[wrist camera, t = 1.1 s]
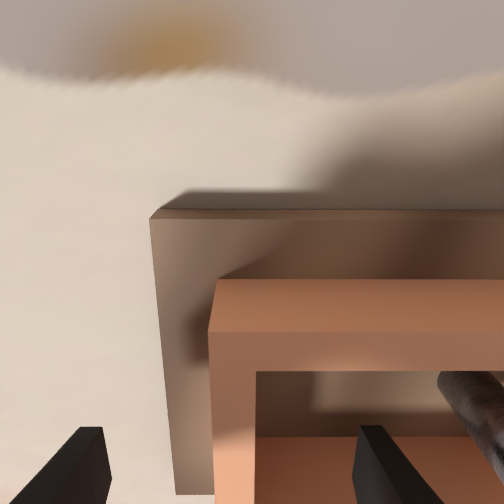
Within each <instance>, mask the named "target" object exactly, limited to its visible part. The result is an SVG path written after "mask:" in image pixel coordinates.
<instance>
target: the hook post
mask: <svg viewBox="0 0 504 504" xmlns="http://www.w3.org/2000/svg"><path fill="white" fill-rule="evenodd" d="M437 386H438V389H439V391H440V392H441V393H442V395H443V396H444V398H445V399H446V401H447V402H448V404H449V405H450V407H451V408H452V410H453V411H454V413H455V414H456V416H457V417H458V419H459V420H460V421H461V423H462V424H463V426H464V427H465V429H466V430H467V432H468V433H469V435H470V436H471V438H472V439H473V441H474V442H475V444H476V445H477V447H478V448H479V449H480V451H481V452H482V454H483V455H484V457H485V458H486V460H487V461H488V463H489V464H490V466H491V467H492V469H493V470H494V472H495V473H496V475H497V476H498V477H499V479H500V480H501V482H502V483H503V485H504V386H503V385H502V384H501V383H500V382H499V381H498V380H497V379H496V378H495V377H494V375H493V374H492V373H491V372H490V371H441V372H440V374H439V376H438V379H437Z"/></svg>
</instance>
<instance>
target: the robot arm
mask: <svg viewBox="0 0 504 504" xmlns="http://www.w3.org/2000/svg"><path fill="white" fill-rule="evenodd" d="M352 480H353V485H354V490H355V495H356V500H357V504H445V503H444V502H443V501H442V500H441V499H440V498H439V496H438V495H437V494H436V493H435V492H434V490H433V489H432V488H431V487H430V486H429V485H428V483H427V482H426V481H425V480H424V478H423V477H422V476H421V475H420V474H419V472H418V471H417V470H416V469H415V467H414V466H413V465H412V464H411V462H410V461H409V460H408V458H407V457H406V456H405V455H404V453H403V452H402V451H401V449H400V448H399V447H398V446H397V444H396V443H395V442H394V440H393V439H392V438H391V436H390V435H389V434H388V432H387V431H386V430H385V429H384V427H383V426H382V425H359V432H358V439H357V445H356V452H355V459H354V465H353V472H352ZM111 481H112V476H111V471H110V465H109V460H108V455H107V449H106V444H105V439H104V433H103V428H102V427H80V428H79V429H77V430H76V432H75V433H74V434H73V435H72V436H71V437H70V438H69V439H68V440H67V442H66V443H65V444H64V445H63V446H62V447H61V448H60V449H59V450H58V452H57V453H56V454H55V455H54V456H53V457H52V458H51V459H50V460H49V461H48V463H47V464H46V465H45V466H44V467H43V468H42V469H41V470H40V471H39V472H38V474H37V475H36V476H35V477H34V478H33V479H32V480H31V481H30V482H29V483H28V484H27V485H26V486H25V487H24V488H23V489H22V491H21V492H20V493H19V494H18V495H17V496H16V497H15V498H14V499H13V500H12V501H11V502H10V503H9V504H106V500H107V496H108V492H109V489H110V485H111Z"/></svg>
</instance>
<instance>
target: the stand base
mask: <svg viewBox="0 0 504 504" xmlns="http://www.w3.org/2000/svg"><path fill="white" fill-rule="evenodd" d="M149 224H150V234H151V245H152V255H153V265H154V275H155V286H156V296H157V306H158V316H159V327H160V337H161V347H162V357H163V368H164V378H165V388H166V398H167V409H168V419H169V429H170V439H171V450H172V460H173V470H174V481H175V491H176V495H215V489H214V466H213V442H212V419H211V395H210V372H209V348H208V328H209V322H210V316H211V311H212V305H213V300H214V294H215V288H216V283H217V279H459V280H504V210H312V209H157V211H156V212H155V213H154V214H153V215H152V216H151V217H150V218H149ZM440 372H441V371H256V404H255V437H358V432H359V425H382V426H383V427H384V429H385V430H386V431H387V432H388V434H389V435H390V436H391V437H466V436H470V435H469V433H468V432H467V430H466V429H465V427H464V426H463V424H462V423H461V421H460V420H459V419H458V417H457V416H456V414H455V413H454V411H453V410H452V408H451V407H450V405H449V404H448V402H447V401H446V399H445V398H444V396H443V395H442V393H441V392H440V391H439V389H438V386H437V379H438V376H439V374H440ZM490 372H491V373H492V374H493V375H494V377H495V378H496V379H497V380H498V381H499V382H500V383H501V384H502V385H503V386H504V371H490Z"/></svg>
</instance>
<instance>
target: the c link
mask: <svg viewBox="0 0 504 504" xmlns="http://www.w3.org/2000/svg"><path fill="white" fill-rule="evenodd" d="M208 348H209V372H210V395H211V419H212V442H213V466H214V489H215V504H357V500H356V495H355V490H354V485H353V480H352V472H353V465H354V459H355V452H356V445H357V439H358V437H255V404H256V371H504V280H459V279H217V283H216V288H215V294H214V300H213V305H212V311H211V316H210V322H209V328H208ZM391 438H392V439H393V440H394V442H395V443H396V444H397V446H398V447H399V448H400V449H401V451H402V452H403V453H404V455H405V456H406V457H407V458H408V460H409V461H410V462H411V464H412V465H413V466H414V467H415V469H416V470H417V471H418V472H419V474H420V475H421V476H422V477H423V478H424V480H425V481H426V482H427V483H428V485H429V486H430V487H431V488H432V489H433V490H434V492H435V493H436V494H437V495H438V496H439V498H440V499H441V500H442V501H443V502H444V503H445V504H504V485H503V483H502V482H501V480H500V479H499V477H498V476H497V475H496V473H495V472H494V470H493V469H492V467H491V466H490V464H489V463H488V461H487V460H486V458H485V457H484V455H483V454H482V452H481V451H480V449H479V448H478V447H477V445H476V444H475V442H474V441H473V439H472V438H471V436H466V437H391Z"/></svg>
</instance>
